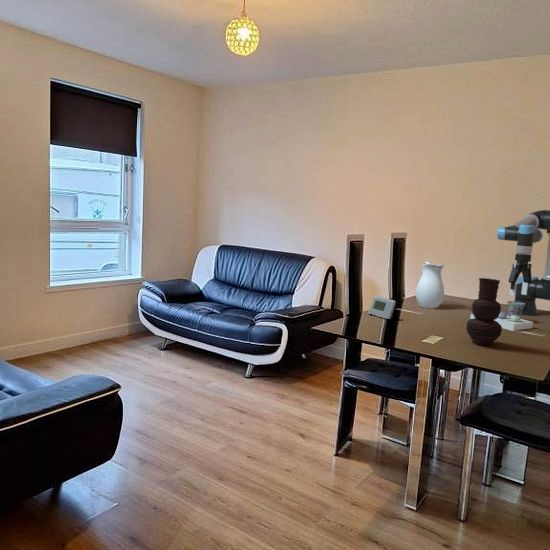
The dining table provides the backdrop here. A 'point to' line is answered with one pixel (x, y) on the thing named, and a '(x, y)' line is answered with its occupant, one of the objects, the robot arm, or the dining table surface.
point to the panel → (512, 323)
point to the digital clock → (382, 307)
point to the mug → (515, 308)
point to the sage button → (515, 318)
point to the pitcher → (430, 286)
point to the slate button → (502, 315)
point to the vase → (485, 314)
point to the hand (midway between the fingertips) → (518, 295)
